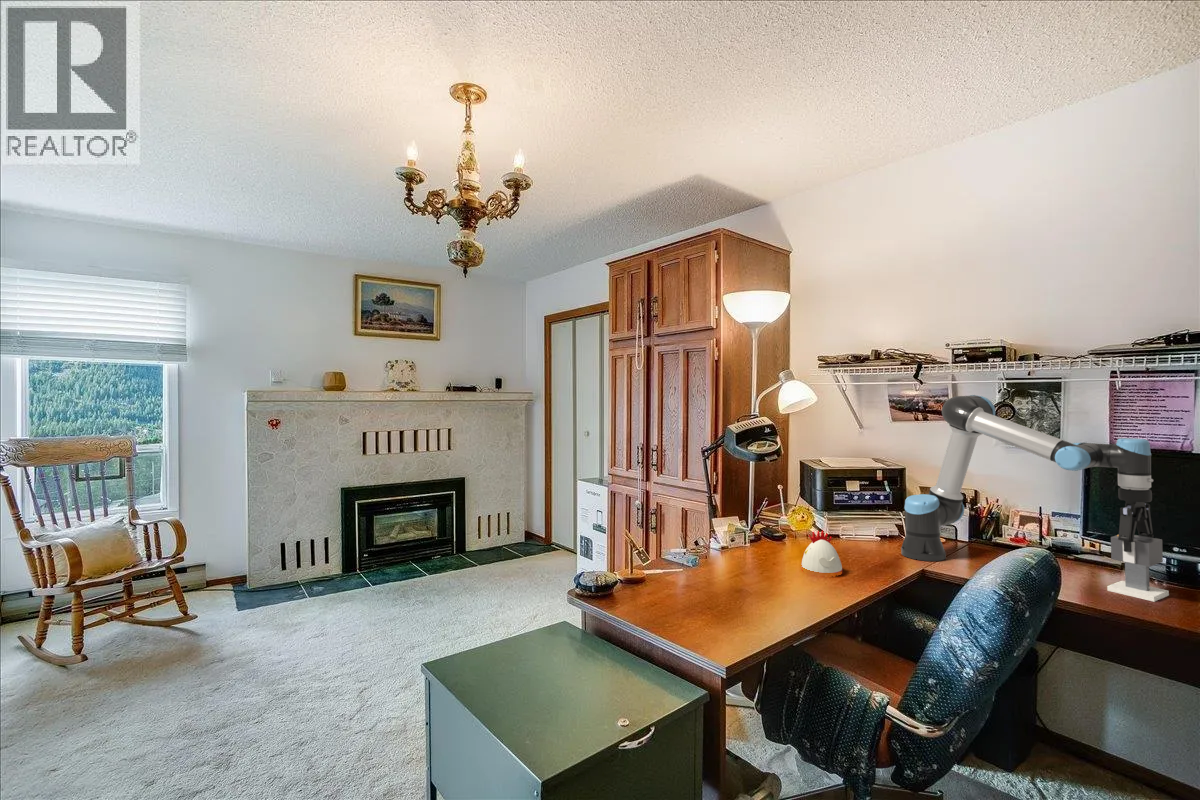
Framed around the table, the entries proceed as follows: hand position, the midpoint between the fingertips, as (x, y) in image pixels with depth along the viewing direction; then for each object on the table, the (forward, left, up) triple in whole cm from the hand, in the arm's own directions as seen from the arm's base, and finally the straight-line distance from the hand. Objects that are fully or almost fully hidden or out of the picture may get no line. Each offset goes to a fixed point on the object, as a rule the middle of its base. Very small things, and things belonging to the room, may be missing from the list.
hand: (1136, 559), depth 171 cm
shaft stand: (0, 0, -10) cm, 10 cm away
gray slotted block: (0, 0, 0) cm, 0 cm away
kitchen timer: (-65, -65, -11) cm, 93 cm away
